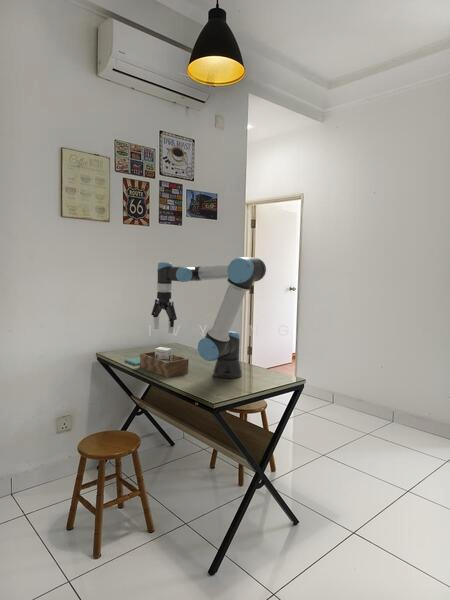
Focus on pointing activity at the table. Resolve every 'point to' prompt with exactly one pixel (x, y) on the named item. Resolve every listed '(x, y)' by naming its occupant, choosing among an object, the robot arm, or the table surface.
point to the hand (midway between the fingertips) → (163, 330)
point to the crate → (164, 365)
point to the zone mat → (133, 361)
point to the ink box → (164, 354)
